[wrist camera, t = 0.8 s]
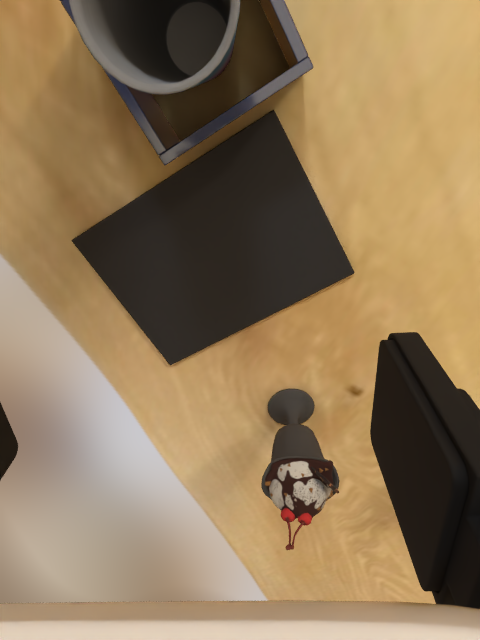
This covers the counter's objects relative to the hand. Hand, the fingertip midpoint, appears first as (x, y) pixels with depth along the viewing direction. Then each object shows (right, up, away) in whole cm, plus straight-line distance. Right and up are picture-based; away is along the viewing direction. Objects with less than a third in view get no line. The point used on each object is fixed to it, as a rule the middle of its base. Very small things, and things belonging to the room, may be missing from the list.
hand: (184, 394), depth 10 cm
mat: (-1, +7, +27) cm, 28 cm away
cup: (-2, +22, +20) cm, 29 cm away
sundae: (+7, -8, +35) cm, 36 cm away
